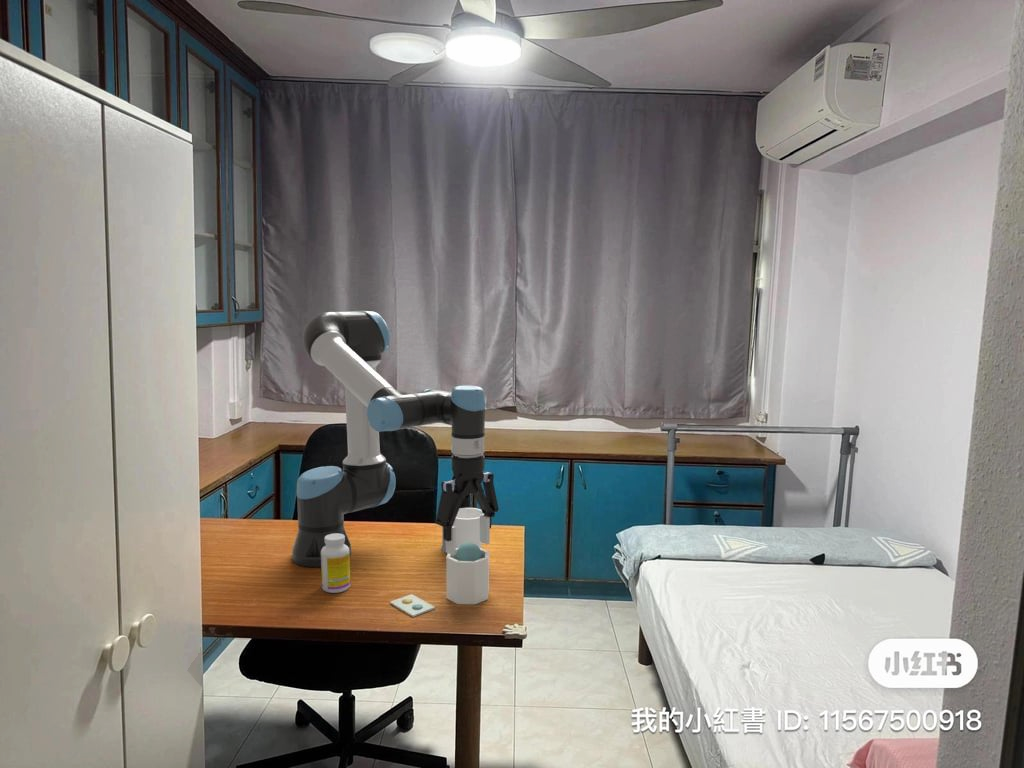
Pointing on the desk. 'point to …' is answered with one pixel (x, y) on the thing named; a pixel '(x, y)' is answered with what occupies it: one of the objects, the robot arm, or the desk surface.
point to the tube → (467, 579)
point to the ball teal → (468, 552)
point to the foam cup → (468, 526)
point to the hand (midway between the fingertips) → (468, 547)
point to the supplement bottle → (335, 564)
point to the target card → (412, 605)
